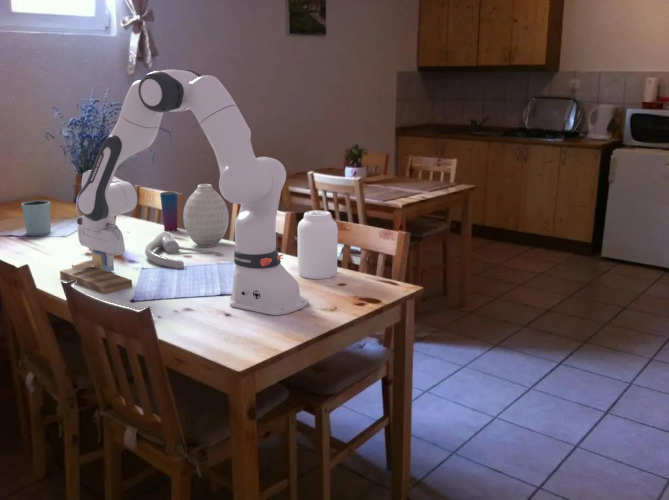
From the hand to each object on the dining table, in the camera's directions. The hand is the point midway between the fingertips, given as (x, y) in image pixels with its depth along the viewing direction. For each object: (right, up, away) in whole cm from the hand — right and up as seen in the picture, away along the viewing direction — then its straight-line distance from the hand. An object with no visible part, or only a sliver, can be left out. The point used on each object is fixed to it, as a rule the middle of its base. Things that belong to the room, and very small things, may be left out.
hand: (103, 263), depth 202 cm
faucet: (+20, +1, +19) cm, 28 cm away
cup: (+7, +12, +57) cm, 59 cm away
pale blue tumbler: (-43, +11, +49) cm, 66 cm away
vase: (+26, +6, +35) cm, 44 cm away
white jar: (+67, -3, +2) cm, 67 cm away
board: (+1, -5, -9) cm, 10 cm away
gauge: (-2, -3, -2) cm, 5 cm away
